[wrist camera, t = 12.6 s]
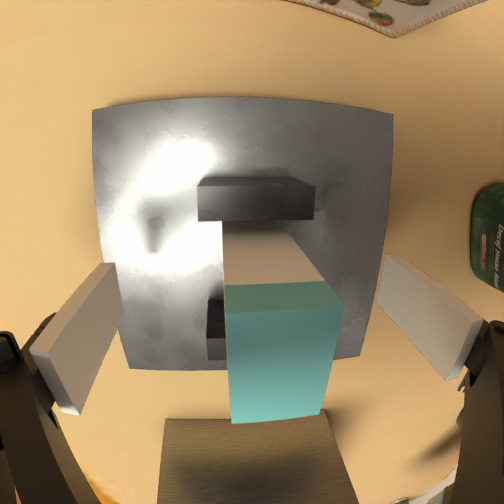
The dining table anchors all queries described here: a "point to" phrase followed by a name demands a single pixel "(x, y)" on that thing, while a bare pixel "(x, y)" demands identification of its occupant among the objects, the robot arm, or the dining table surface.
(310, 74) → the dining table surface
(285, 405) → the plug
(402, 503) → the coffee can
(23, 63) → the dining table surface
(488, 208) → the coffee jar
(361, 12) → the decorative jar
